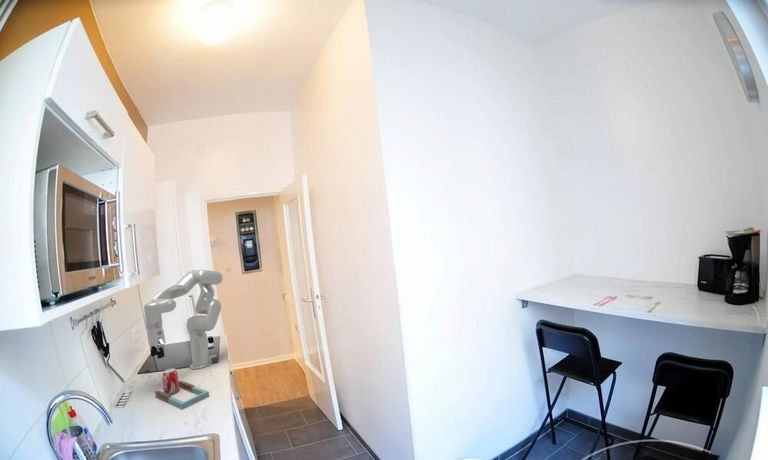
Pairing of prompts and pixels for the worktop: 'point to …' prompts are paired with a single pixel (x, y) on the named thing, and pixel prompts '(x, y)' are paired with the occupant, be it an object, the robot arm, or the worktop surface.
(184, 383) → the channel
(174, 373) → the soda can
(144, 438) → the worktop surface
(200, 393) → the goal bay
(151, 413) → the worktop surface
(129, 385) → the worktop surface
